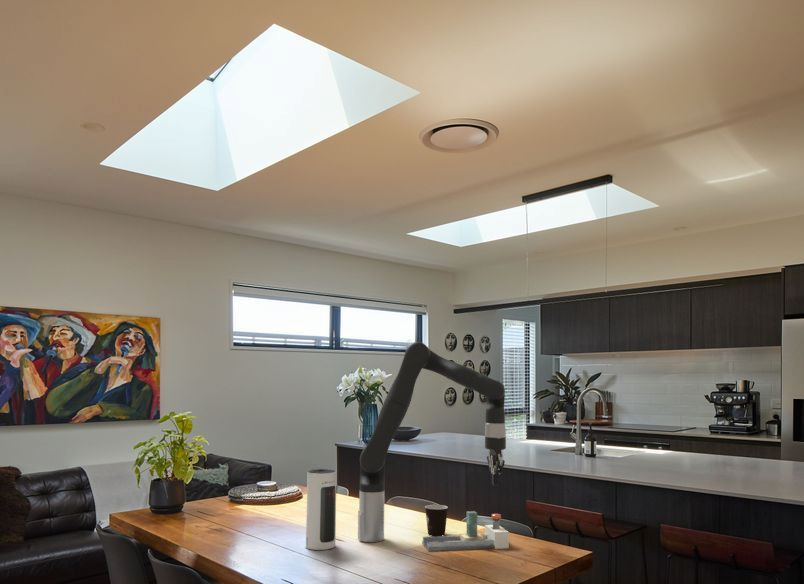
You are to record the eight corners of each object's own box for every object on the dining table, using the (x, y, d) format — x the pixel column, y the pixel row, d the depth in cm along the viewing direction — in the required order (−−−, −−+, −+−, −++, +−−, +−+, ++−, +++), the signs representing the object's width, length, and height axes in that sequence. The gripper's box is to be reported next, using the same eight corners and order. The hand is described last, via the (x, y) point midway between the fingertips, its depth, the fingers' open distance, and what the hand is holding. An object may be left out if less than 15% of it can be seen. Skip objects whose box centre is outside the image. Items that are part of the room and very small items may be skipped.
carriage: (464, 543, 215) (464, 514, 217) (460, 540, 220) (460, 511, 222) (483, 543, 216) (483, 513, 218) (479, 539, 221) (478, 510, 223)
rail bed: (428, 551, 210) (428, 543, 210) (422, 543, 220) (422, 536, 220) (504, 548, 215) (504, 540, 216) (494, 540, 225) (494, 533, 225)
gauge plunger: (493, 542, 218) (493, 515, 219) (490, 540, 221) (490, 513, 223) (502, 542, 219) (501, 515, 220) (499, 540, 222) (498, 513, 223)
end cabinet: (495, 548, 214) (494, 532, 215) (484, 540, 225) (484, 525, 225) (508, 548, 215) (508, 531, 216) (497, 540, 226) (497, 524, 226)
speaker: (310, 552, 208) (312, 472, 212) (300, 544, 217) (303, 468, 221) (339, 548, 213) (341, 470, 216) (329, 541, 222) (330, 466, 226)
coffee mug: (446, 537, 229) (446, 509, 230) (423, 536, 230) (423, 508, 232) (450, 530, 240) (450, 503, 241) (428, 529, 242) (428, 502, 243)
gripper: (479, 434, 231) (480, 482, 228) (491, 437, 218) (491, 488, 216) (498, 434, 232) (499, 481, 230) (511, 437, 219) (512, 487, 217)
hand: (495, 484), depth 223 cm, fingers closed
